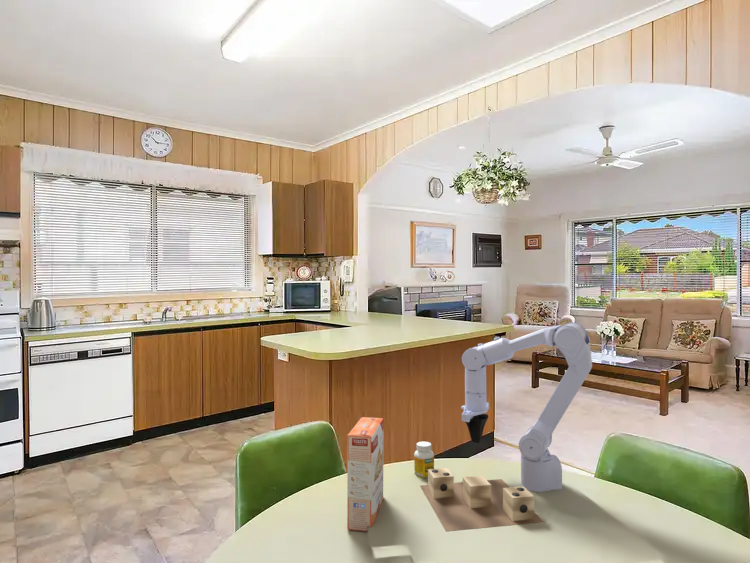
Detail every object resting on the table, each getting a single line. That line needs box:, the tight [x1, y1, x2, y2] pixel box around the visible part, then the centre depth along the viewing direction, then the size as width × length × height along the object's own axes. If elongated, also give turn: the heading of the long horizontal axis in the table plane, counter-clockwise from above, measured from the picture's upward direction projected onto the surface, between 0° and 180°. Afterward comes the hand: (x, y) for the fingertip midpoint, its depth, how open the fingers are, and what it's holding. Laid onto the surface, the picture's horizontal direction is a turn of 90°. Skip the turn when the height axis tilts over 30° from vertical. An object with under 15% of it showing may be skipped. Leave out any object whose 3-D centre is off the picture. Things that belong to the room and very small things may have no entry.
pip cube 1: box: [427, 467, 455, 499], centre depth 116 cm, size 5×5×5 cm
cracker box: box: [346, 416, 385, 533], centre depth 108 cm, size 14×6×21 cm, turn 168°
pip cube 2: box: [503, 485, 535, 521], centre depth 105 cm, size 5×5×5 cm
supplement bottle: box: [413, 441, 435, 479], centre depth 127 cm, size 5×5×10 cm
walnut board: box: [419, 478, 545, 532], centre depth 111 cm, size 22×22×2 cm
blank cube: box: [462, 475, 491, 508], centre depth 111 cm, size 5×5×5 cm
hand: (476, 441), depth 127 cm, fingers closed
